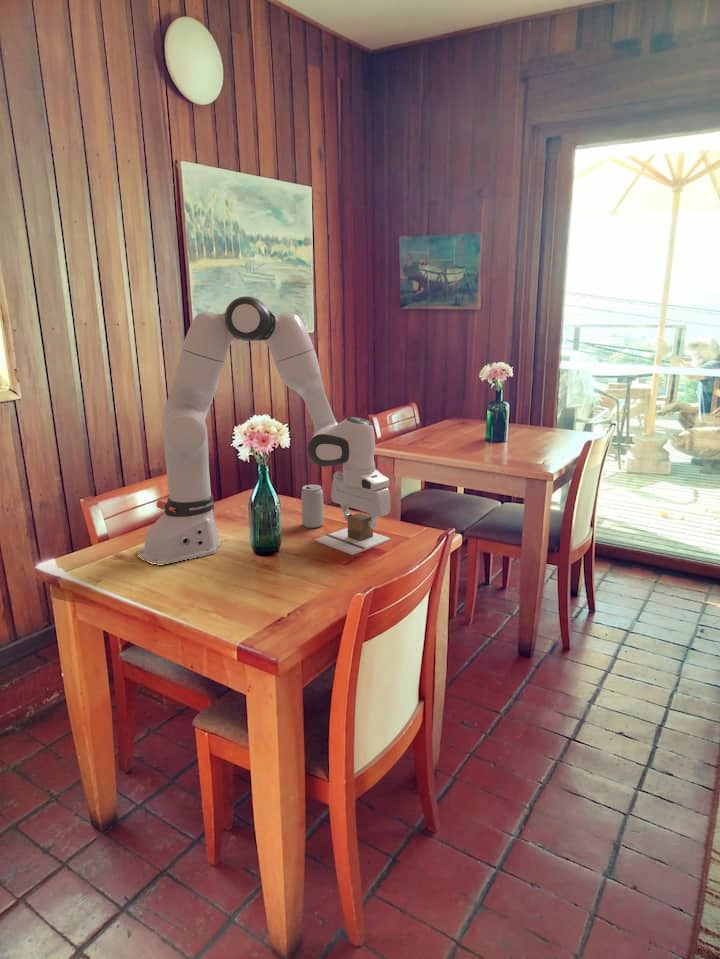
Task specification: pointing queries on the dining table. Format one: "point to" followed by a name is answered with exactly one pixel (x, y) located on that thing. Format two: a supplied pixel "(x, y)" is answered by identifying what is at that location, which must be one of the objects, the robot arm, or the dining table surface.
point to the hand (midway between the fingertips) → (359, 523)
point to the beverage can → (312, 506)
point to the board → (351, 541)
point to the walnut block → (359, 527)
